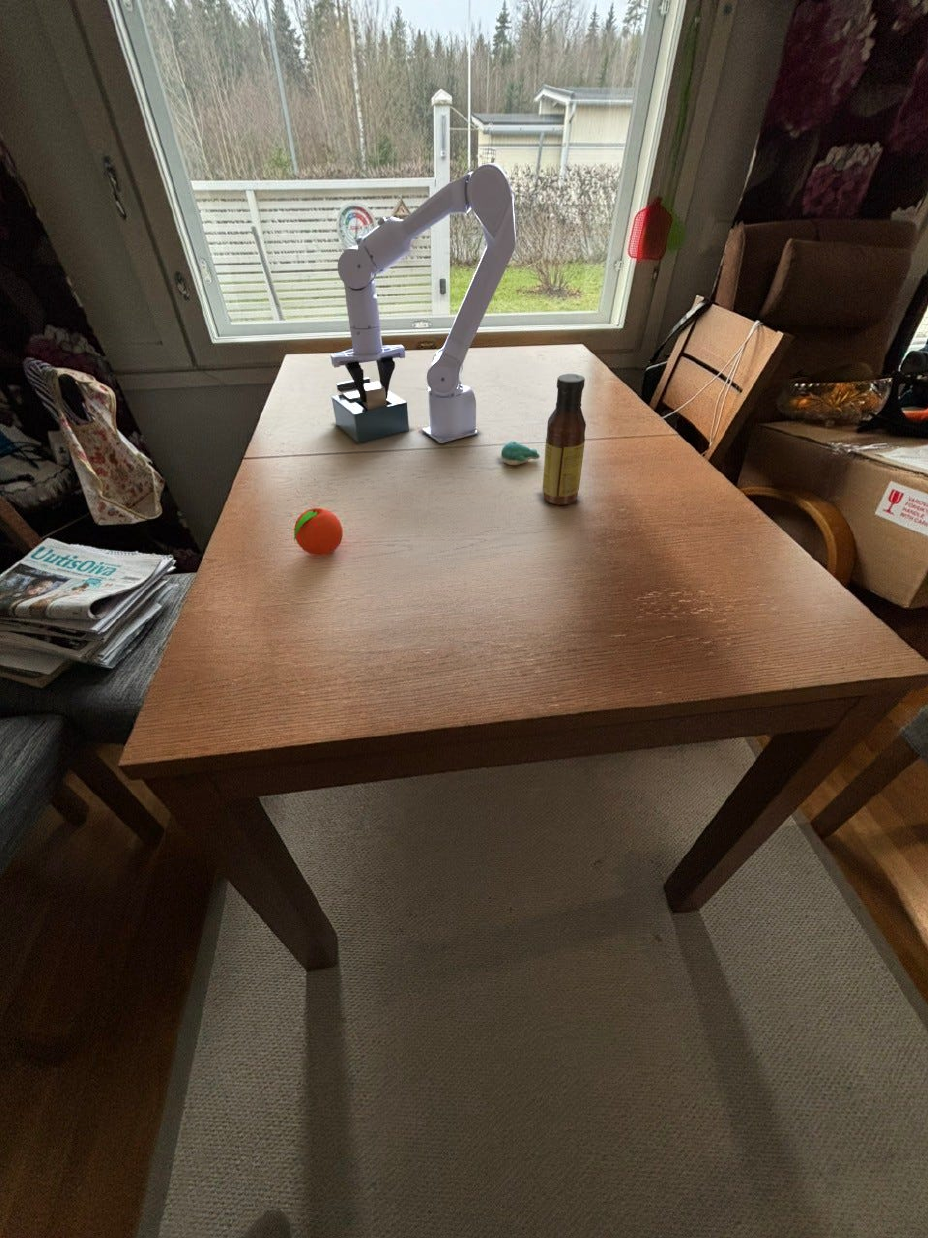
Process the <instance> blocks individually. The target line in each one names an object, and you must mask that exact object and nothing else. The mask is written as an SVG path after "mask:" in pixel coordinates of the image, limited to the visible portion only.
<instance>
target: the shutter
mask: <svg viewBox="0 0 928 1238" xmlns="http://www.w3.org/2000/svg"><path fill="white" fill-rule="evenodd" d="M367 383H371V379H370V377H364V384H367ZM335 385H336V392H337V393H339V395H343V396H344V397H345V398H347V399H348V400H349V401H352V400H357V399H360V396H359V393H358V390H357V387H356V385H355V383H354V381H353V380H348V381H343V382H337V383H336V384H335Z"/></svg>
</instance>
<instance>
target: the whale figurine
mask: <svg viewBox="0 0 928 1238" xmlns="http://www.w3.org/2000/svg"><path fill="white" fill-rule="evenodd" d="M500 454H501V455H500V458H501V460H502V461H503V463H505V464H506V465H509V466H518V465H520V464H524V463H527V462H529V461H530V460H531V459H532V460H538V459H540V454H539V453H538V450H537V449H535V448H532V449H531V448H529V447H527V446H526V445H524V444H521V443H519V442H516V441H508V442H507V443H505V445H504V446H503V447H502V449H501V453H500Z"/></svg>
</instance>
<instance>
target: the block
mask: <svg viewBox="0 0 928 1238" xmlns="http://www.w3.org/2000/svg"><path fill="white" fill-rule="evenodd" d="M364 388H365V393H366V402H365V403H363V405H364V406H365V407H366V408H367V409H368V410H371V409H375V408H379V407H384V406H387V403H386V394H385V387H384V386H383V385H382V384H380V381H374V382H370V383H367V384H364Z"/></svg>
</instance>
